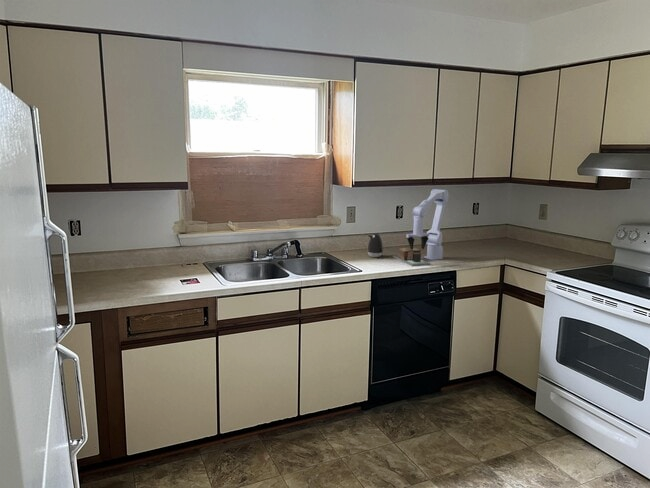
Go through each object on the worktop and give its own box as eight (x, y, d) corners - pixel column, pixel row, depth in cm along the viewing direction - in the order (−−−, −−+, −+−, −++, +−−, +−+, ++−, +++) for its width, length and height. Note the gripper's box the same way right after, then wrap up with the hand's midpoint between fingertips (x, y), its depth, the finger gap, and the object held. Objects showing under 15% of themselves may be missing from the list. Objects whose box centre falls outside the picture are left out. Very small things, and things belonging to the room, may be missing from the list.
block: (410, 255, 312) (410, 249, 311) (413, 257, 309) (413, 250, 308) (404, 256, 311) (404, 250, 310) (407, 257, 307) (408, 251, 306)
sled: (410, 256, 315) (411, 248, 314) (422, 261, 301) (423, 253, 300) (400, 256, 312) (401, 249, 311) (412, 262, 299) (413, 254, 298)
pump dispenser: (364, 255, 320) (364, 232, 317) (378, 254, 324) (379, 231, 321) (370, 258, 311) (371, 235, 308) (385, 257, 315) (386, 234, 312)
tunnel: (413, 256, 316) (414, 247, 314) (420, 259, 308) (420, 249, 307) (397, 257, 312) (398, 248, 311) (403, 260, 304) (404, 250, 303)
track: (409, 256, 321) (409, 254, 321) (429, 264, 298) (429, 262, 298) (393, 257, 317) (393, 255, 317) (412, 266, 294) (412, 264, 294)
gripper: (410, 228, 291) (409, 250, 294) (432, 227, 296) (431, 249, 298) (405, 226, 297) (404, 248, 300) (426, 225, 302) (425, 247, 305)
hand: (417, 248), depth 300 cm, fingers open, 7 cm apart
